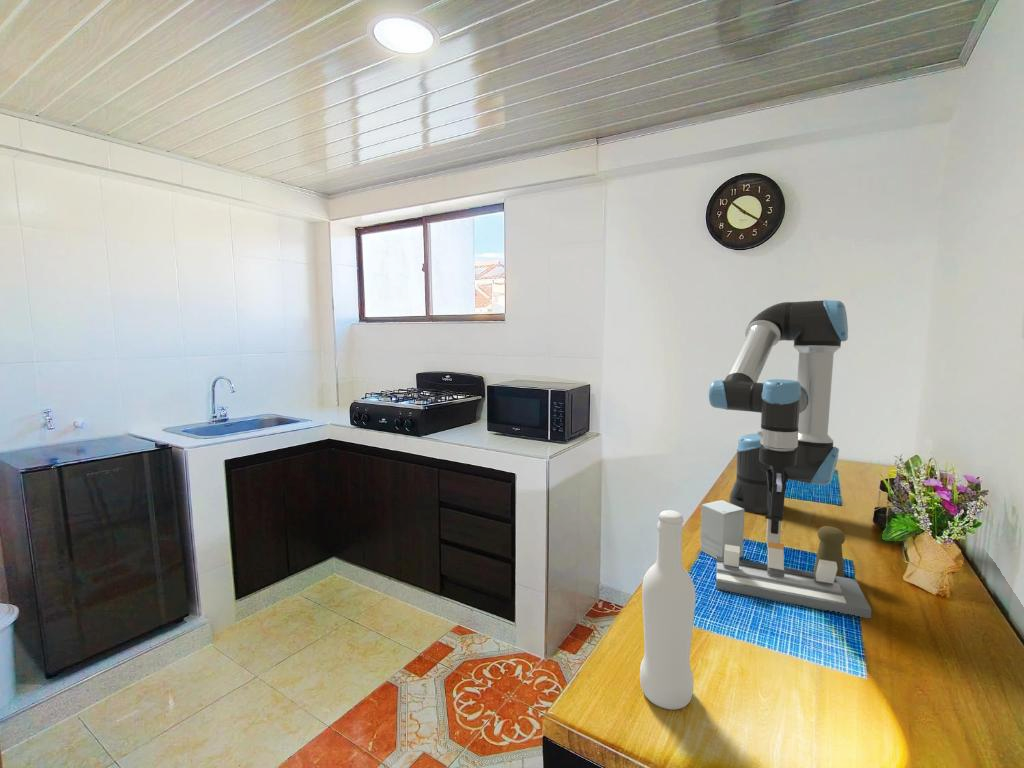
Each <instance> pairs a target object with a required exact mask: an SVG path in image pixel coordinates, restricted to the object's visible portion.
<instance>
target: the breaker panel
mask: <svg viewBox="0 0 1024 768" xmlns="http://www.w3.org/2000/svg"><path fill="white" fill-rule="evenodd" d="M723 561H724V557H721V556H717V559H716V576H715V577H716V579H715V580H716V581H715V589H716V590H722V591H726V592H730V593H736V594H739V595H740V594H742V595H745V596H749V597H750V596H752V597H755V598H756V597H757V598H762V599H767V600H771V601H778V602H781V603H782V602H783V603H785V604H787V603H788V604H791V605H796V604H798V605H797V606H801V605H803V606H802V607H806V606H807V607H808V608H812V609H818V610H822V611H823V610H824V611H827V610H829V611H828V612H832V611H835V612H834V613H837V612H840V613H839V614H842V613H844V615H847V614H849V615H848V616H852V615H855V616H854V617H857V616H860V617H859V618H862V617H865V618H864V619H867V618H871V619H872V608H871V606H870V604H869V602H868V600H867V599H866V597H865V595H864V593H863V591H862V589H861V588H860V585H859V583H858V581H857V580H856V579H855V578H849V577H846V576H844V577H839V576H835V579H834V583H833V585H827V584H822V583H816V582H815V581H814V577H816V573H815V572H814V571H808V570H801V569H797V568H790V567H785V566H784V570H781V571H784V577H782V576H777V575H771V574H767V568H768V563H762V562H754V561H750V560H743V559H739V569H737V568H731V567H726V566H723ZM769 569H773V568H769ZM775 570H779V569H775ZM850 614H851V615H850Z"/></svg>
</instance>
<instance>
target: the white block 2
mask: <svg viewBox="0 0 1024 768" xmlns="http://www.w3.org/2000/svg"><path fill="white" fill-rule="evenodd" d="M837 569H838V568H837V563H836V562H833V561H827V560H821V559H819V562H818V566H817V570H816V577H814V581H815V582H816V583H822V584H827V585H833V583H834V579H835V576H836V573H837Z"/></svg>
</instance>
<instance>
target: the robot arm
mask: <svg viewBox="0 0 1024 768" xmlns="http://www.w3.org/2000/svg"><path fill="white" fill-rule="evenodd" d="M744 334H745V339H744V341H743V343H742V345H741V346H740V349H739V350H738V353H737V355H736V357H735V359H734V361H733V363H732V364H731V367H730V369H729V370H728V373H727V375H726V377H725V379H724V380H723V379H720V380H714V381H712V382H711V384H710V386H709V390H708V401H709V404H710V406H711V407H713V408H715V409H722V410H727V411H739V412H740V411H741V412H742V411H743V412H752V413H759V414H760V415H761V418H760V421H761V422H760V430H761V431H760V430H759V431H757V432H756V433H748V434H745V435H742V436H740V437H739V439H738V442H737V448H736V451H737V453H736V479H735V482H734V484H733V486H732V489H731V491H730V494H729V502H728V503H731V504H733V505H735V506H738V507H741V508H743V509H744V512H748V513H753V514H761V515H763V514H764V517H765V519H766V520H767V521H766V535H765V538H766V539H765V541H766V542H765V544H766V545H767V542H773V543H779V544H781V532H782V530H781V529H782V522H783V520H784V516H785V515H784V506H785V499H786V498H785V496H786V490H787V482H788V480H789V481H792V482H793V481H795V482H800V483H804V484H810V485H819V486H828V485H829V484H830V483H831V482H832V480H833V477H834V474H835V471H836V467H837V465H838V464H837V463H838V459H839V453H840V449H839V447H837V446H834V439H832V437H831V436H829V422H830V421H829V420H830V408H831V407H830V406H831V405H830V404H831V393H832V382H833V381H832V380H833V368H834V366H833V365H834V357H835V356H834V354H835V353H836V352H837V351H838V350H839V349H841V347H842V346H841V345H842V342H846V341H847V340H848V338H849V325H848V317H847V310H846V306H845V304H844V303H843V302H842V301H840V300H828V299H827V300H825V299H823V300H809V301H807V300H806V301H805V300H804V301H786V302H785V301H783V302H780V303H779V302H778V303H776V304H773V305H771V306H768V307H767V308H765V309H763V310H761V312H759V313H757V314H756V316H754V318H752V319H751V321H750V322H749V324H748V325H747V327H746V329H745V333H744ZM781 341H786V342H787V341H792V342H793V347H794V349H795V350H797V352H798V364H797V365H798V366H797V378H796V380H794V379H793V380H792V379H778V378H777V379H767V380H765V381H764V382H758V380H759V378H760V376H761V374H762V371H763V369H764V367H765V364H766V362H767V360H768V358H769V355H770V353H771V351H772V349H773V347H774V346H776V345H777V344H778V343H779V342H781Z"/></svg>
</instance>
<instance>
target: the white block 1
mask: <svg viewBox="0 0 1024 768" xmlns="http://www.w3.org/2000/svg"><path fill="white" fill-rule="evenodd" d="M739 556H740V547H739V546H733V545H727V544H725V552H724V561H723V566H726V567H731V568H737V569H739V560H740V558H739Z"/></svg>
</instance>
